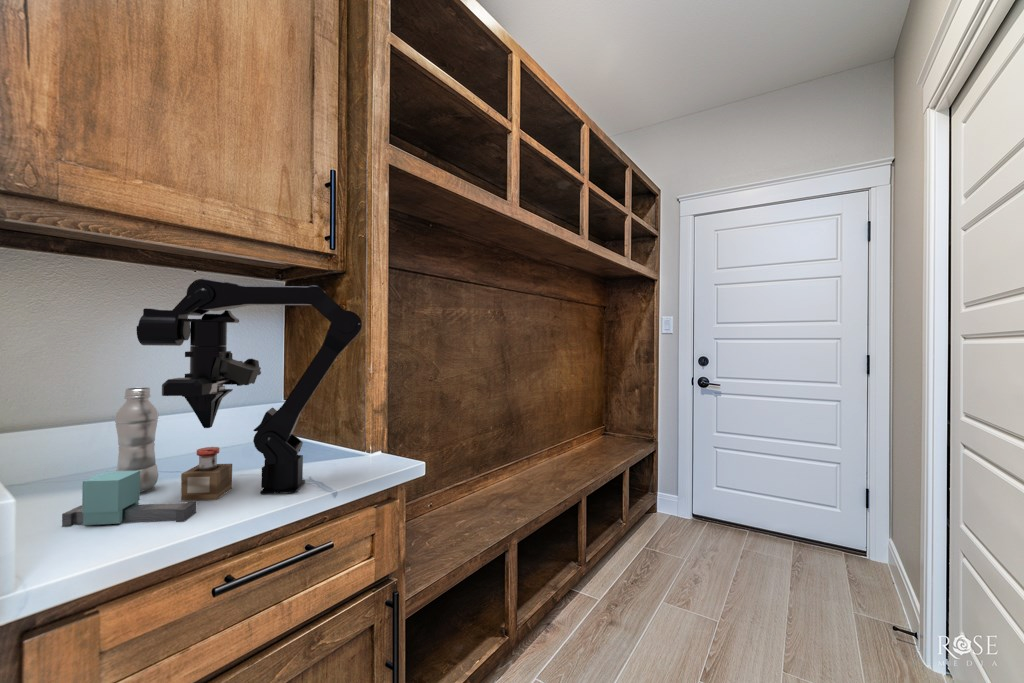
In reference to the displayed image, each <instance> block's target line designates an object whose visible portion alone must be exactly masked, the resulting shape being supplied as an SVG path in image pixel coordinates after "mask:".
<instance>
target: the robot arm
mask: <svg viewBox="0 0 1024 683" xmlns="http://www.w3.org/2000/svg"><path fill="white" fill-rule="evenodd" d="M247 306H248V307H249V306H313V308H315V310H317V311H318V312H319V313H320V314H321V315H322V316H323V317H324V318H325V319H326V320H328V321H329V322H330V325H329V327H328V329H327V331H326V335H325V337H324V340H323V343H322V345H321V347H320V349H319V350H318V351H317V353H316V354H315V356H314V357H313V359H312V361H311V362H310V363H309V365H308V367H306V369H305V371H304V372H303V374H302V375H301V377H300V378H299V380H298V381H297V383H296V385H294V388H293V389H292V390H291V391H290V394H289V395H288V397H287V398H286V399H285V401H284V402H283V404H282V405H281V406H280V407H279V408H278V409H276V408H274V407H271V408H270V409H268V410H267V411H266V412H265V413H264V415H263V418H262V420H261V422H260V424H258V426H256V427H255V428H254V429H253V432H255V434H254V437H253V445H254V448H255V449H256V451H258V452H259V453H260V454H262V455H263V457H264V465H263V466H262V467H261V489H260V495H267V494H293V493H297V492H298V491H299V490H300V488H302V486H304V484H305V483H306V480H305V479H304V478H303V474H304V472H303V470H304V469H303V466H304V461H303V460H304V456H303V455H302V454H299V453H300V451H301V449H302V447H303V444H304V442H303V441H302V440H301V439H300V438H298V437H297V436H296V435H295V434H294V431H295V429H296V427H297V426H296V425H297V424H298V421H299V418H300V416H301V414H302V411H303V410H304V409H305V406H306V405H307V403H308V402H309V400H310V398H311V397H312V395H313V394H315V391H316V390H317V388H318V387H319V385H320V384H321V382H322V380H323V379H324V377H326V375H327V373H328V372H329V370H330V369H331V367H332V365H333V364H334V362H335V361H336V359H337V358H338V356H339V355H340V354H342V352H343V351H344V350H345V349H346V348H347V347H348V346H349V345H350V343H352V342H353V340H354V339H355V338H357V336H358V335H359V334H360V332H362V329H363V327H362V326H363V322H362V320H361V317H360V316H359V314H357V313H356V312H354V311H352V310H345V309H344V308H343V307H342V306H340V305H339V304H338V302H336V301H335V300H334V299H333V298H331V297H330V296H329V295H328V294H327V293H326V291H325V290H324V289H323V288H322V287H320V286H319V285H312V284H311V285H308V286H302V285H301V286H295V285H293V286H292V285H291V286H289V285H285V286H284V285H245V284H237V283H234V282H233V283H232V282H228V281H227V282H226V281H222V280H221V281H220V280H215V279H209V278H199V279H196V280H193V282H191V283H189V285H188V287H187V289H186V295H185V296H184V297H183V298H182V299H181V301H179V302H178V303H177V304H176V305H175V306H174V308H173V309H172V310H171V309H168V310H167V309H158V308H149V307H148V308H147V307H146V308H143V310H142V314H143V315H141V317H140V318H139V320H138V324H137V325H136V336H137V340H138V342H139V344H140V345H142V346H169V347H170V346H178V347H179V346H180V347H181V346H183V343H184V342H185V341H189V343H190V344H189V345H190V346H189V347H190V348H189V350H190V351H185V352H184V358H189V373H184V377H175V378H169V379H167V380H166V381H164V382H163V383H162V384H161V396H162V397H180V396H181V397H183V398H185V400H186V402H187V403H188V404H189V406H190V407H191V409H192V411H193V412H194V414H195V416H196V417H197V419H198V421H199V422H200V424H201V425H202V427H203V428H204V429H211V428H212V427H213V424H214V422H215V418H216V417H217V413H218V411H219V407H220V405H221V402H222V400H223V399H224V398H225V397H226V396H227V395H229V394H230V393H232V392H233V390H234V389H233V388H232V389H230V388H226V386H228V385H232V386H233V385H236V386H237V387H241V386H249V385H251V384H253V385H254V384H255V382H256V379H258V378H257V377H258V376H260V375H261V373H262V371H261V369H262V368H261V366H260V363H259V362H260V361H259V360H257V359H255V358H247V359H246V360H245V361H242V360H237V359H233V358H234V357H233V353H232V351H231V350H227V344H228V343H227V341H228V337H227V334H228V330H227V329H228V323H229V324H238V323H239V322H240V319H239V318H238V317H236V316H235V315H233V313H232V311H231V310H233V309H238V308H241V307H242V308H243V307H247ZM219 311H223V312H222V313H209V312H219ZM189 316H190V317H191V316H193V317H194V316H195V317H201V318H188V317H189Z"/></svg>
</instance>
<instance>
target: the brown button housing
mask: <svg viewBox="0 0 1024 683" xmlns="http://www.w3.org/2000/svg"><path fill="white" fill-rule="evenodd" d="M180 477H181V478H180V482H181V483H180V501H181V502H182V501H183V502H186V501H187V502H191V501H214V500H215V501H217V500H218V499H220V498H221V497H222V496H224V495H225V494H227V493H228V492H229V491H231V490H233V463H217V469H215V470H214V471H199V464H198V465H195V466H194V467H191V468H190V469H188V470H186V471H184V472H181V476H180ZM226 492H227V493H226ZM219 497H220V498H219Z"/></svg>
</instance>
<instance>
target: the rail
mask: <svg viewBox="0 0 1024 683" xmlns="http://www.w3.org/2000/svg"><path fill="white" fill-rule="evenodd" d="M196 513H197V500H191V501H187V502H173V503H149V504H148V503H147V504H142V503H141V504H139V505H130V506H128V507H126V508H124V509H122V522H121V524H123V523H124V524H126V523H144V522H145V523H146V522H147V523H148V522H171V521H174V522H176V523H183V522H185V521H187V520H188V519H190V518H191V517H192V516H194V515H195V514H196ZM61 518H62V520H61V527H62V528H63V527H72V526H74V525H79V526H80V525H83V513H82V504H81V505H79V506H77V507H75V508H72V509H70V510H68V511H66V512H63V513H62V514H61Z"/></svg>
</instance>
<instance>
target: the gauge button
mask: <svg viewBox="0 0 1024 683" xmlns="http://www.w3.org/2000/svg"><path fill="white" fill-rule="evenodd" d="M219 453H220V447H219V446H207V447H201V448H198V449H196V456H198V465H199V471H214V470H215V469H217V464H218V462H217V461H218V454H219Z"/></svg>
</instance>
